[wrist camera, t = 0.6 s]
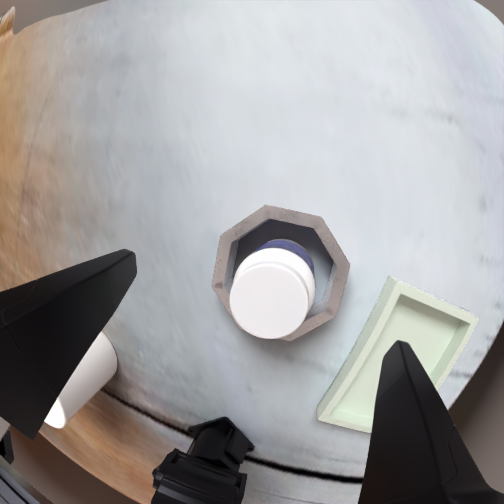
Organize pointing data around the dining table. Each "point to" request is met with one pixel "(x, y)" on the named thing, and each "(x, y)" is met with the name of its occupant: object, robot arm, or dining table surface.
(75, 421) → the dining table surface
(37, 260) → the dining table surface
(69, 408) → the candle holder
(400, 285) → the sage tray
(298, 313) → the pill bottle
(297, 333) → the steel collar
